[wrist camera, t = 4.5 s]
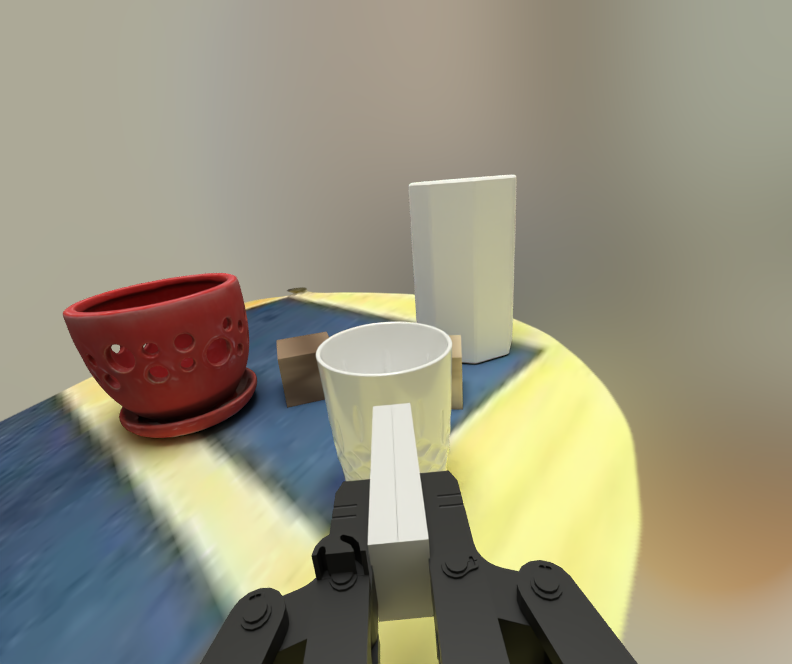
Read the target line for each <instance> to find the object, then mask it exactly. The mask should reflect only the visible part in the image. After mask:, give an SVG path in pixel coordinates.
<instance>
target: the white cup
mask: <svg viewBox="0 0 792 664" xmlns="http://www.w3.org/2000/svg"><path fill="white" fill-rule="evenodd" d="M316 359H317V364H318V369H319V374H320V378H321V383H322V387H323V392H324V397H325V401H326V406H327V411H328V417H329V422H330V425H331V429H332V433H333V439H334V443H335V447H336V450H337V455H338V459H339V461H340V463H341V465H342V469H343V472H344V477H345V481H355V480H365V479H370V471H371V445H372V418H373V406H383V405H394V404H404V403H410V405H411V412H412V420H413V427H414V435H415V442H416V450H417V457H418V464H419V472H420V473H428V472H438V471H447V454H448V451H449V435H450V414H451V380H452V340H451V338H450V337H449V335H448V334H447V333H445V332H444V331H442V330H440V329H438V328H436V327H433V326H429V325H425V324H420V323H412V322H382V323H374V324H367V325H362V326H358V327H354V328H351V329H347V330H344V331H342V332H339V333H337V334H335V335H333V336H331V337H329V338H328V339H326V340H325V341H324V342H323V343H322V344H321V345H320V346H319V347H318V349H317V351H316Z"/></svg>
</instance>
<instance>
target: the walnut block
mask: <svg viewBox="0 0 792 664" xmlns="http://www.w3.org/2000/svg"><path fill="white" fill-rule="evenodd" d="M328 338H329V336H328V334H327V332H322V333H316V334H311V335H305V336H299V337H293V338H287V339H282V340H277V355H278V363H279V368H280V373H281V378H282V383H283V388H284V393H285V398H286V403H287V408H288V407H292V406H297V405H302V404H306V403H311V402H316V401H320V400H325V397H324V392H323V387H322V383H321V378H320V374H319V369H318V364H317V359H316V351H317V349H318V347H319V346H320V345H321V344H322V343H323V342H324V341H325V340H326V339H328Z"/></svg>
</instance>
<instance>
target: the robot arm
mask: <svg viewBox="0 0 792 664" xmlns="http://www.w3.org/2000/svg"><path fill="white" fill-rule="evenodd" d="M312 560H313V565H314V569H315V574H316V578H315V579H314V580H313V581H312V582H310V583H309V584H308V585H306V586H304V587H302V588H300V589H298V590H296V591H293V592H291V593H289V594H286V595H284V596H282V595H281V594H280V592H279V591H277V590H275V589H272V588H260V589H257V590H255V591H252V592H250V593H248V594H247V595H246V596H244V597H243V598H242V599H240V600H239V601H238V603H237V604H236V605H235V606H234V608H233V609H232V610H231V612H230V614H229V615H228V617H227V619H226V620H225V622H224V624H223V626H222V627H221V629H220V631H219V632H218V634H217V636H216V638H215V639H214V641H213V643H212V644H211V646H210V648H209V650H208V651H207V653H206V655H205V656H204V658H203V660H202V662H201V663H200V664H380V641H379V635H378V618H379V622H380V621H390V620H401V619H411V618H421V617H432V616H434V622H435V633H436V645H437V658H438V660H439V664H637V662H636V661H635V660H634V658H633V657H632V656H631V655H630V653H629V652H628V651H627V650H626V648H625V647H624V645H623V644H622V643H621V641H620V640H619V639H618V638H617V636H616V635H615V634H614V632H613V631H612V630H611V628H610V627H609V626H608V625H607V623H606V622H605V621H604V619H603V618H602V617H601V615H600V614H599V613H598V612H597V610H596V609H595V608H594V606H593V605H592V604H591V602H590V601H589V600H588V599H587V597H586V596H585V595H584V593H583V592H582V591H581V589H580V588H579V587H578V586H577V584H576V583H575V582H574V580H573V579H572V578H571V576H570V575H569V574H567V573H566V572H565V571H564V570H563V569H562V568H561V567H559V566H557V565H555V564H553V563H551V562H547V561H542V560H537V561H530V562H528V563H526V564H525V565H523V566H522V567H521V569H520V570H519V571H514V570H510V569H505V568H501V567H498V566H495V565H493V564H491V563H489V562H487V561H486V560H485V559H484V558H483V557H482V556H481V555H480V554H479V553H478V551H477V550H476V547H475V545H474V542H473V538H472V534H471V531H470V527H469V523H468V519H467V515H466V511H465V508H464V505H463V500H462V496H461V492H460V488H459V485H458V481H457V480H456V478H455V477H454V476H453V475H452V474H451V473H450V472H449V471H438V472H428V473H420V472H419V464H418V457H417V450H416V442H415V435H414V427H413V420H412V412H411V405H410V403H404V404H394V405H383V406H373V418H372V445H371V471H370V479H365V480H355V481H344V482H343V483H342V485H341V486H340V488H339V489H338V491H337V492H336V494H335V501H334V509H333V514H332V521H331V528H330V534H329V535H328V536H326V537H324V538H323V539H322V540H321V541H320V542H319V543H318V544H317V545H316V546H315V548H314V551H313V553H312Z"/></svg>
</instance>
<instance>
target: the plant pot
mask: <svg viewBox="0 0 792 664" xmlns="http://www.w3.org/2000/svg"><path fill="white" fill-rule="evenodd" d="M63 317H64V320H65V322H66V325H67V328H68V330H69V333H70V335H71V338H72V339H73V342H74V344H75V346H76V348H77V350H78V351H79V353H80V355H81V357H82V359H83V361H84V362H85V364H86V366H87V368H88V370H89V371H90V373H91V374H92V376H93V377H94V378H95V380H96V381H97V382H98V384H99V385H100V386H101V387H102V388H103V390H104V391H105V392H106V393H107V394H108V395H109V396H110V397H111V398H113V399H114V400H115V401H116V402H117V403H119V404H120V405H121V406H123V407H122V409H121V411H120V415H119V418H120V422H121V424H122V425H123V427H124V428H125V429H127V430H128V431H130V432H132V433H134V434H136V435H140V436H145V437H152V438H166V437H176V436H181V435H186V434H190V433H194V432H197V431H200V430H203V429H206V428H209V427H211V426H214V425H216V424H218V423H220V422H222V421H224V420H226V419H227V418H229V417H231V416H232V415H234V414H235V413H237V412H238V411H239V410H240V409H241V408H243V407H244V406H245V405H246V403H247V402H248V401H249V400H250V398H251V397H252V395H253V393H254V391H255V389H256V385H257V377H256V374H255V373H254V372H253V371H252V370H250V369H249V368H246V364H247V360H248V353H249V330H248V322H247V316H246V310H245V305H244V301H243V296H242V293H241V289H240V285H239V282H238V279H237V278H236V277H235V276H234V275H231V274H226V273H211V274H210V273H209V274H198V275H189V276H182V277H175V278H168V279H162V280H157V281H152V282H147V283H141V284H137V285H132V286H129V287H124V288H120V289H116V290H112V291H108V292H105V293H102V294H99V295H95V296H93V297H89V298H87V299H84V300H82V301H79V302H77V303H75V304H73V305H71V306H70V307H68V308H67V309H66V310H65V311H64V312H63ZM114 344H117V345H120V351H119V352H118V353H115V352H114V351H112V349H111V346H112V345H114ZM145 344H146V345H145ZM144 345H145V347H144V348H143V346H144Z"/></svg>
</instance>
